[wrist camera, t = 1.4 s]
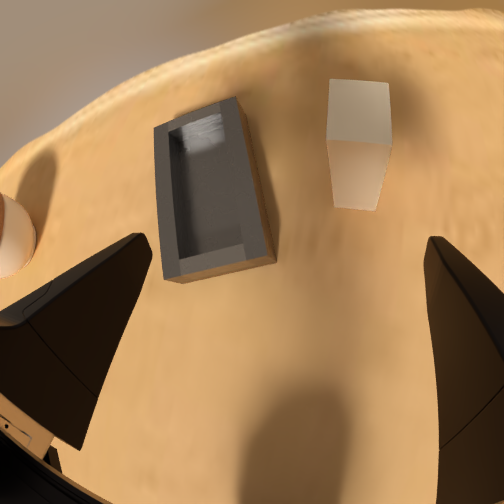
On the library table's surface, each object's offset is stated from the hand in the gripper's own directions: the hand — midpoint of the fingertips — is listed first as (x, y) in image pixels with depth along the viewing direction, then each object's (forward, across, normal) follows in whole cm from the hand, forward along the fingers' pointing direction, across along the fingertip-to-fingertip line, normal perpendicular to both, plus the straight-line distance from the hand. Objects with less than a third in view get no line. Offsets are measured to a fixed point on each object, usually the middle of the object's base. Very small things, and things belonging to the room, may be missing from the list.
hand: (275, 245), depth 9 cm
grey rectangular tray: (+15, +9, +6) cm, 18 cm away
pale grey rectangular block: (+15, -3, +6) cm, 17 cm away
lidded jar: (+12, +36, +9) cm, 39 cm away
